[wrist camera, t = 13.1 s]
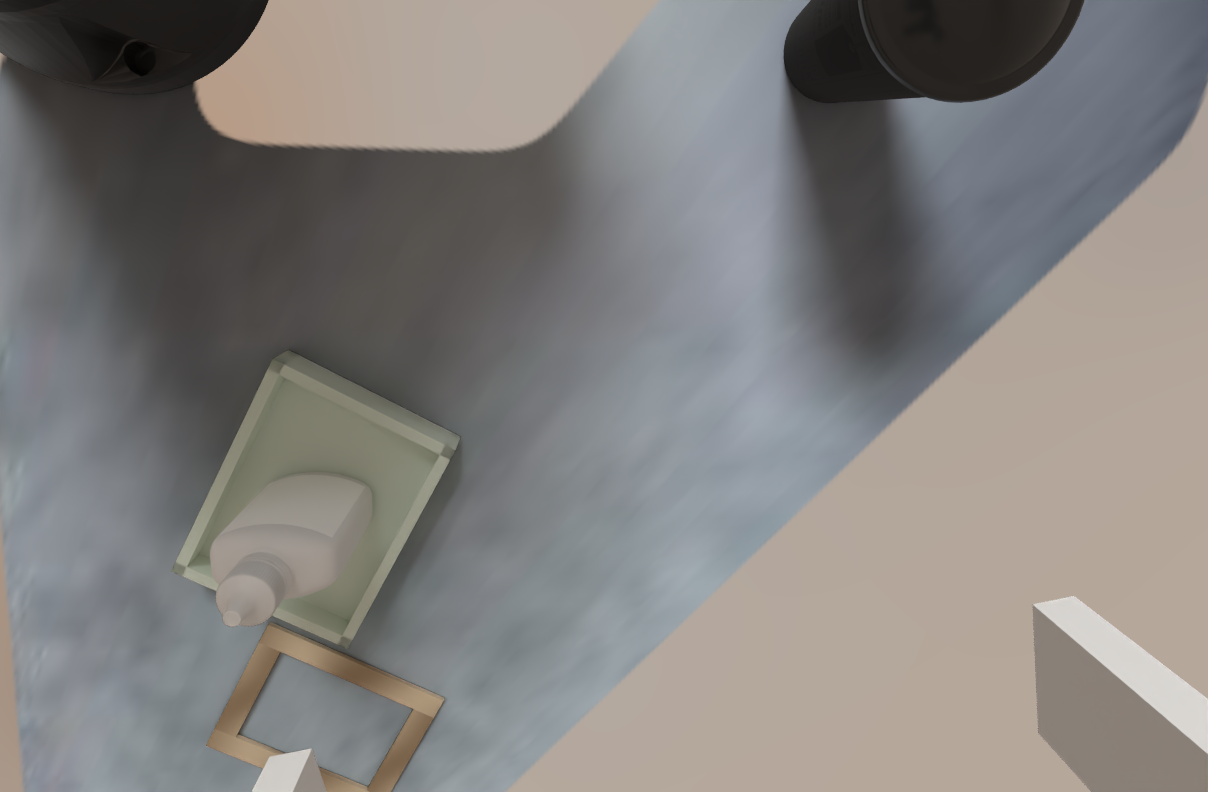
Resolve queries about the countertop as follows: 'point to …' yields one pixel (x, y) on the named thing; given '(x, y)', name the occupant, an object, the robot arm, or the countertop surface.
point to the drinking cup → (923, 47)
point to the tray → (336, 445)
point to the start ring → (338, 665)
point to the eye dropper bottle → (288, 543)
